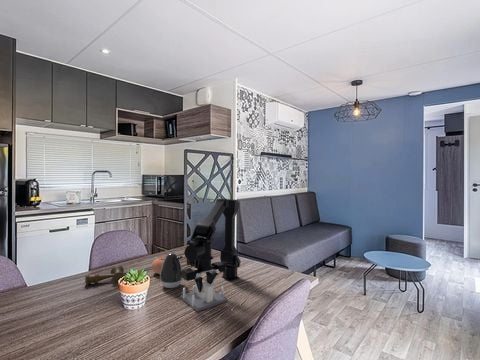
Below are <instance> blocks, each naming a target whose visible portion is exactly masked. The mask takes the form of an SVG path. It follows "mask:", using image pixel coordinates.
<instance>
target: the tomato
mask: <svg viewBox="0 0 480 360" xmlns="http://www.w3.org/2000/svg"><path fill="white" fill-rule="evenodd" d="M165 258H166V256H163V257H158V258H156V259H154V260H153V261H152V263H151V270H152V272H153V273H154V274H155V273H156V274H157V275H160V273H161V268H162V265H163V262H164V260H165Z"/></svg>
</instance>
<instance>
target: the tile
mask: <svg viewBox="0 0 480 360" xmlns="http://www.w3.org/2000/svg"><path fill="white" fill-rule="evenodd" d="M194 283H195V284H194V285H195V286H196V287H195V294H197V295H198V296H199V297H201V298H202V292H205V301H206V302H207V303H208V302H211V301H213V286H212V284H209V283H207V282H206V280H204V279H203V281H202V290H201V292H199V291H198V288H197V285H196V282H194Z"/></svg>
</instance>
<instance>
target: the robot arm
mask: <svg viewBox="0 0 480 360" xmlns="http://www.w3.org/2000/svg"><path fill="white" fill-rule="evenodd" d="M239 209H240V202H239V201H238V199H230V198H217V199H216V202H215V204H214V205H213V206H212V208H211V210H210V211H209V213H208V214H207V216H206V217H205V218H203V219H200V221H199V222H198V223H197V224H196V225H195V228H194V230H193V231H192V235H191V237H190V241H189V242H188V246H186V247H185V248H184V257H185V258H186V265H187V266H190V267H189V268H184V269H182V271H181V277H182V280H183V279H184V280H185V281H186V282H188V281H192V280H194V281H195V282H196V285H197V288H198V291H199V292H201V290H202V281H203V280H204V278H203V277H202V274H205V276H206V280H205V281H206V282H207V283H209V284H211V285H212V282H213V280H214V281H215V278H217V276H218V275H219V273H223V274H222V275H221V277H222V278H223V279H224V280H227V281H234V280H237V279H240V276H238V268H240V266H241V259H240V257H239V255H238V250H237V248H236V246H235V232H236V230H235V227H236V226H235V225H236V224H235V223H236V221H235V220H236V216H237V215H238V213H239ZM222 215H223V216H224V246H223V248H222V250H220V256H219V258H220V261H216V262H212V260H213V259H214V256H213V255H212V243H213V242H214V237H213V236H214V235H215V234H216V230H217V227H216V225H217V223H218V222H219V219H220V218H221V217H222ZM192 268H194V269H192ZM217 270H218V271H219V273H218V272H217ZM195 282H194V283H195Z"/></svg>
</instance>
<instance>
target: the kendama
mask: <svg viewBox="0 0 480 360" xmlns="http://www.w3.org/2000/svg"><path fill="white" fill-rule="evenodd" d="M124 271H125V268H124V267H123V266H122V265H115V266H113V267H112V268H111V270H110V274H109V273H108V274H98V273H95V274H88V273H87V274H85V277H84V284H85V286H86V285H88V286H89V285H91V284H94V283H95V284H98V283H99V282H101V281H103V280H107V279H110V278H111V280H112V282H113V284H115V285H118V280H119V279H120V278H122V277H123V276H125V275H127V274H126V273H127V272H128V271H127V272H126V271H125V272H124ZM125 277H126V276H125Z"/></svg>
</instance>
